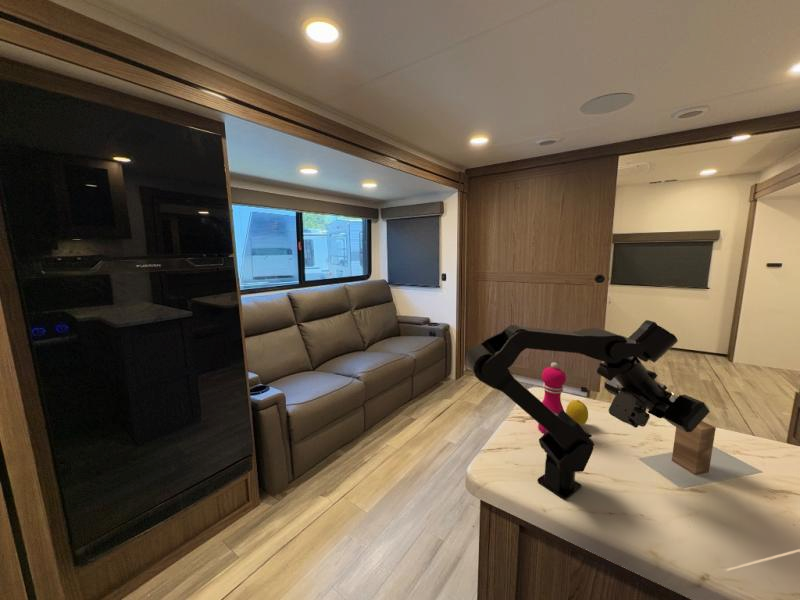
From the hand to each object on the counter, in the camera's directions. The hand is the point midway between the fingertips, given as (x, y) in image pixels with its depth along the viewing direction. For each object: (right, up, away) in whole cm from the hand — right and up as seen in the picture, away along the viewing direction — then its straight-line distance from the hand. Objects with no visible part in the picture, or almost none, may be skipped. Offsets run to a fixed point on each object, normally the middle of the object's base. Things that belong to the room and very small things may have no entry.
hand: (668, 418), depth 70 cm
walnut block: (+8, -12, +4) cm, 15 cm away
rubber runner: (+10, -13, +4) cm, 17 cm away
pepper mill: (-17, -11, +19) cm, 28 cm away
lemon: (-9, -10, +21) cm, 25 cm away
